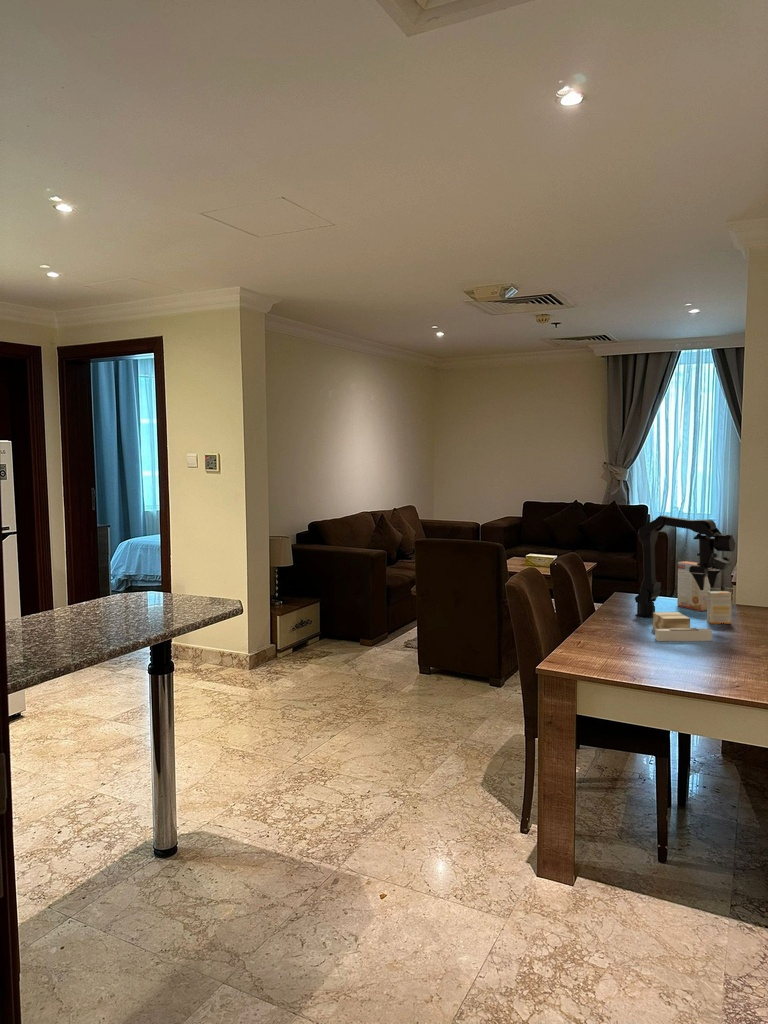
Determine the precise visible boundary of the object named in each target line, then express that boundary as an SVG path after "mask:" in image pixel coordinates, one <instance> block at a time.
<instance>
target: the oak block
mask: <svg viewBox="0 0 768 1024" xmlns="http://www.w3.org/2000/svg"><path fill="white" fill-rule="evenodd" d="M668 628H691V617H689V616H687V615H684V614H683V613H681V612H679V611H664V612H663V611H659V612H657V611H655V612H653V617H652V629H653V630H654V629H668Z"/></svg>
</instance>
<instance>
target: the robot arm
mask: <svg viewBox="0 0 768 1024" xmlns="http://www.w3.org/2000/svg"><path fill="white" fill-rule="evenodd" d="M665 526H668V527H672V528H673V527H674V528H681V529H686V530H690V531H692V532H694V533H696V534H695V536H694V537H693V540H698V553H697V554H696V556H698V562H696V563H697V565H693V566H691V567H690V568H689V572H690V573H691V575H693V577H694V579H695V580H696V582H697V584H698V586H699V588H700V590H704V582H705V577H706V576H707V577H708V580H709V583H710V589H711V588H712V589H713V588H715V585H716V581H717V580H718V576H719V574H721V573H722V572H723V571H727V570H728V568H729V566H731V560H730V557H727V556H724V557H718V553H717V552H727V553H729V552H731V553H733V552H734V551H735V550H736V541H735V539H734V537H733V536H734V535H733V534H723V533H721V531H720V530H719V528H718V526H717V525H716V522H715V521H714V520H713V519H690V518H689V519H688V518H682V517H675V516H674V517H673V516H669V515H665V514H664V515H659V516H657V517H655V519H654V520H652V521H650V522H649V523H647V524H646V525H642V526H640V527H639V529H638V532H637V533H638V537H639V542H640V543H641V546H642V557H643V558H642V559H643V560H642V562H643V580H642V582H641V586H640V592H639V594H637V595H636V596H635V597H634V601H635V603H636V607H637V608H636V614H635V615H634V616H636V617H642V618H649V619H650V618H653V612H656V606H655V602H656V601H657V598H658V597H659V596H660V595H661V593H662V589H661V588H662V587H661V586H662V583H661V582H658V580H657V578H656V553H655V552H656V547H655V546H656V543H657V540H658V535H659V532H661V531H662V530H663V529H664V528H665ZM715 550H716V551H717V552H715Z"/></svg>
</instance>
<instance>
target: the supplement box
mask: <svg viewBox="0 0 768 1024" xmlns="http://www.w3.org/2000/svg"><path fill="white" fill-rule="evenodd" d="M706 613H707V614H706V622H707V621H708V622H707V623H709V624H710V623H711V624H710V625H722V624H723V623H724V624H723V625H726V624H727V625H729V624H730V625H732V592H730V591H729V590H710V591H707V611H706ZM721 623H722V624H721Z"/></svg>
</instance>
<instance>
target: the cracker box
mask: <svg viewBox="0 0 768 1024" xmlns="http://www.w3.org/2000/svg"><path fill="white" fill-rule="evenodd" d="M697 563H698V562H694V561H686V560H685V561H678V562H677V602H676V603H677V607H681V608H685V609H690V610H693V611H698V612H705V611H706V610H707V591H711V586H710V583H709V580H708V577H707V576H706V577H705V582H704V590H700V588H699V586H698V584H697V582H696V580H695V579H694V577H693V575H691V573H690V572H689V568H690V567H691V566H693V565H697ZM706 612H707V611H706Z"/></svg>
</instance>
